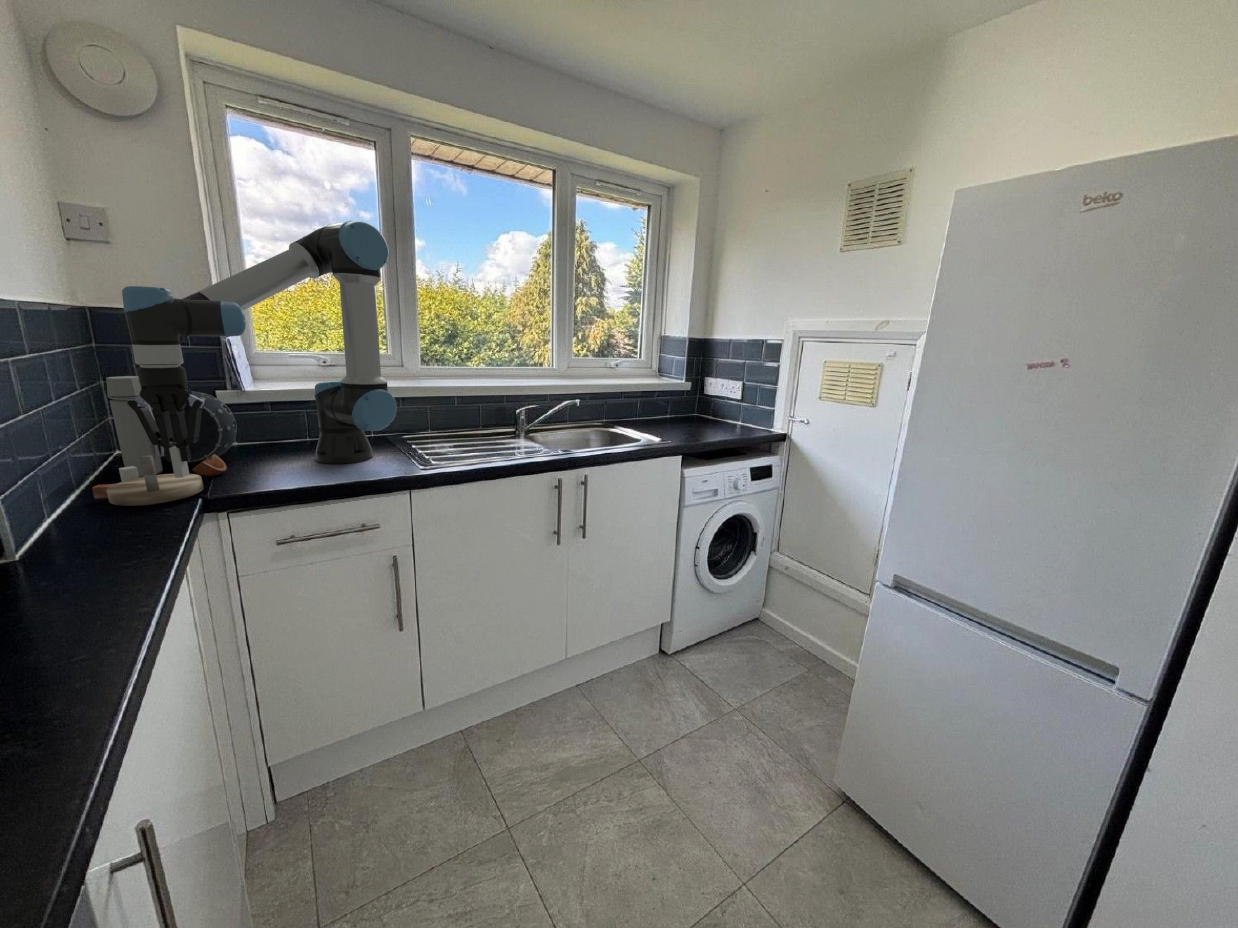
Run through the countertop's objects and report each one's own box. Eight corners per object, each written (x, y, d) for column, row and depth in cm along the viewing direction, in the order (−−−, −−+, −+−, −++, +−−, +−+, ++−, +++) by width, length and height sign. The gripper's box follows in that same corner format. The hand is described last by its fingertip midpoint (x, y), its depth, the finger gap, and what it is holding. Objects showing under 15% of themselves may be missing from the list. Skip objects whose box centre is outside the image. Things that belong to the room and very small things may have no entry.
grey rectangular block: (141, 487, 123) (137, 467, 121) (127, 490, 120) (123, 469, 119) (136, 485, 124) (132, 466, 122) (123, 488, 122) (118, 468, 120)
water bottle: (116, 478, 129) (93, 378, 122) (142, 470, 136) (121, 375, 130) (156, 478, 130) (135, 379, 123) (179, 470, 137) (160, 376, 131)
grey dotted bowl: (231, 465, 144) (219, 393, 139) (144, 468, 138) (128, 394, 133) (246, 456, 154) (235, 389, 148) (165, 459, 148) (151, 389, 143)
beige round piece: (99, 492, 116) (88, 449, 113) (204, 479, 127) (197, 440, 124) (84, 513, 103) (72, 465, 101) (202, 497, 114) (194, 454, 112)
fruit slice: (219, 479, 131) (216, 460, 129) (187, 481, 129) (184, 462, 127) (231, 471, 138) (228, 453, 137) (202, 472, 136) (198, 454, 135)
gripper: (206, 364, 111) (224, 469, 117) (132, 364, 107) (155, 472, 113) (189, 367, 104) (210, 479, 110) (109, 367, 100) (135, 482, 106)
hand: (182, 475), depth 111 cm, fingers closed
